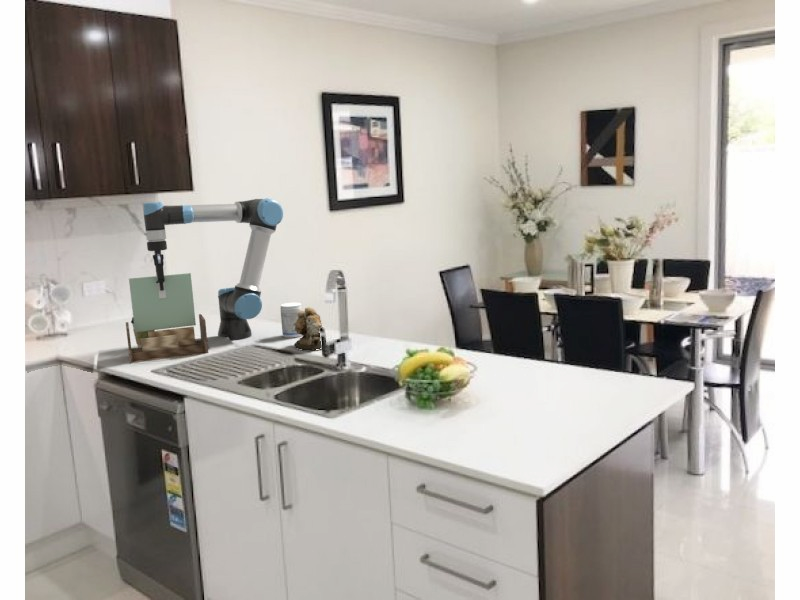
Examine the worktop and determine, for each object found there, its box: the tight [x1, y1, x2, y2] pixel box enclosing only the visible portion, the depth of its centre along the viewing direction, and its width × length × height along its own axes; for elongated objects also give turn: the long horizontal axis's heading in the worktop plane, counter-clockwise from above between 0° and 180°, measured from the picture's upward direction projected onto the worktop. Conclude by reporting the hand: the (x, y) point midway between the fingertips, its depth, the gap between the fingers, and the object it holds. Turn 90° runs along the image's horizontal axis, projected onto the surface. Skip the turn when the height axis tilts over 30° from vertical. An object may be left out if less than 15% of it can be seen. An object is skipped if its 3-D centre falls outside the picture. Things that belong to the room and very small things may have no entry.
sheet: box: [128, 272, 197, 332], centre depth 283 cm, size 24×1×22 cm, turn 112°
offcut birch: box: [141, 335, 179, 352], centre depth 279 cm, size 14×1×8 cm, turn 112°
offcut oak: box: [148, 326, 196, 346], centre depth 284 cm, size 18×1×10 cm, turn 112°
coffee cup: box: [130, 317, 156, 348], centre depth 296 cm, size 10×10×15 cm
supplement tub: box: [279, 302, 303, 339], centre depth 313 cm, size 10×10×15 cm
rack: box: [125, 314, 209, 364], centre depth 281 cm, size 30×14×16 cm, turn 112°
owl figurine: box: [293, 306, 323, 351], centre depth 290 cm, size 18×12×17 cm, turn 41°
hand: (162, 297), depth 283 cm, fingers closed on sheet
